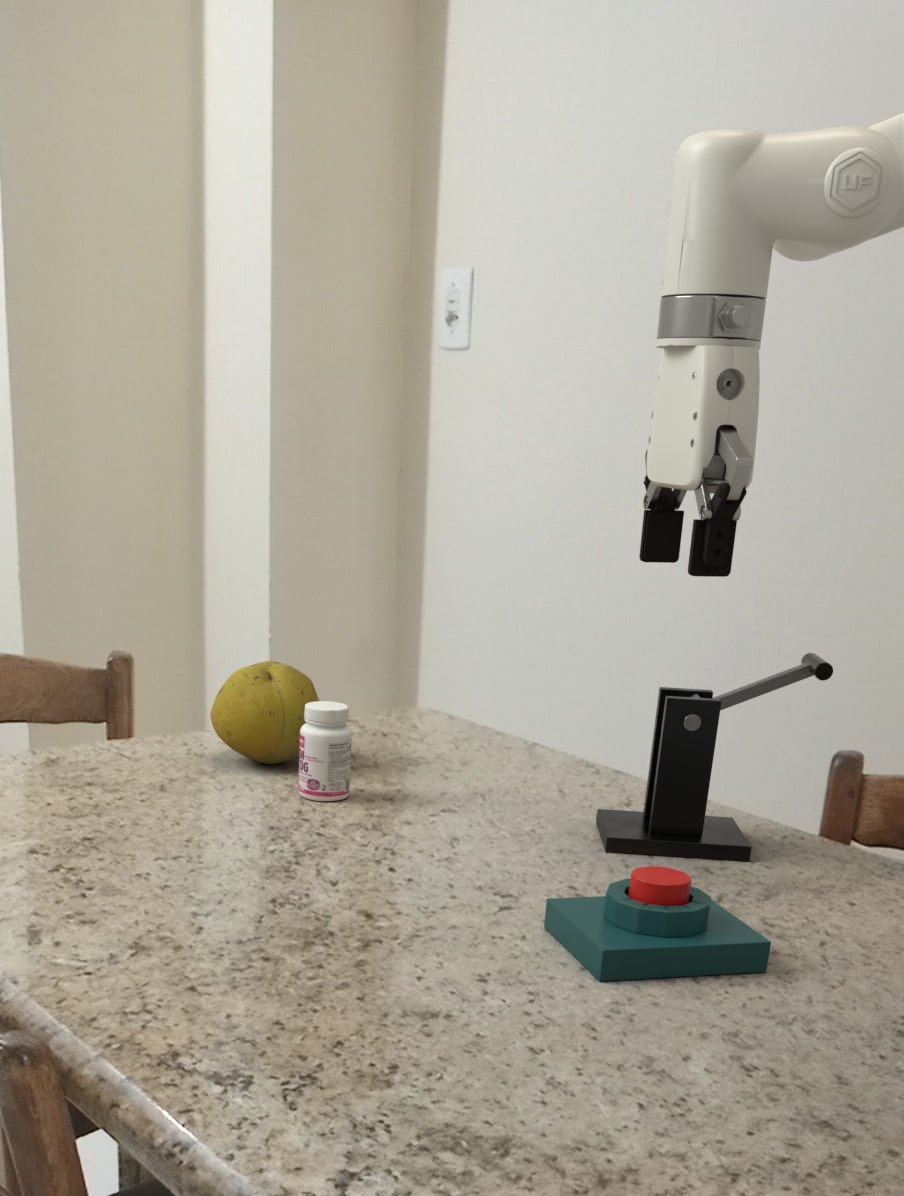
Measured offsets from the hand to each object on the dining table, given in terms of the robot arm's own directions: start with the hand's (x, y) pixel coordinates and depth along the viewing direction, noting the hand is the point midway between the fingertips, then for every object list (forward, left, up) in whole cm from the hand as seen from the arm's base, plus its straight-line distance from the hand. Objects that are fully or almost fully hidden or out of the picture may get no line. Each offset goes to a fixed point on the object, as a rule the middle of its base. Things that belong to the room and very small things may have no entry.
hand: (682, 568), depth 107 cm
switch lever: (-8, -1, -11) cm, 14 cm away
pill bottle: (+23, -20, -23) cm, 39 cm away
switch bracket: (-4, -3, -23) cm, 24 cm away
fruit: (+26, -33, -23) cm, 48 cm away
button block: (+9, +21, -23) cm, 33 cm away
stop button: (+9, +21, -20) cm, 30 cm away
